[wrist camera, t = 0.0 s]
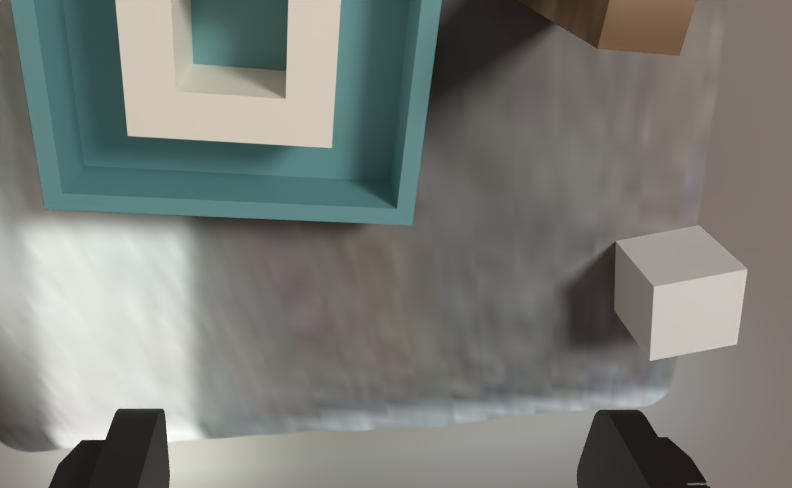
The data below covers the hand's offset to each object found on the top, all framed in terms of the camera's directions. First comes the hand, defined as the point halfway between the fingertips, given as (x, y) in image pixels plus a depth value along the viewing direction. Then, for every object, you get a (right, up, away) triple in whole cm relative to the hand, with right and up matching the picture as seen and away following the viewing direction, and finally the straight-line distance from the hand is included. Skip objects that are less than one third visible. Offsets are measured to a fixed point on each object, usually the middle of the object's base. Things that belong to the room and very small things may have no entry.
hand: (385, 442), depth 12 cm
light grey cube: (+19, +2, +35) cm, 40 cm away
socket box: (-8, +16, +24) cm, 30 cm away
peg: (+9, +19, +24) cm, 32 cm away
